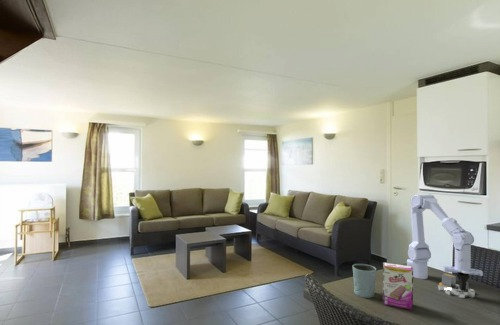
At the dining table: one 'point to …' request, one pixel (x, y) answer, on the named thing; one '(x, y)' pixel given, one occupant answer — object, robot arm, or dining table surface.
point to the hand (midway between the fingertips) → (462, 289)
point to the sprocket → (457, 290)
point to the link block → (448, 280)
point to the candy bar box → (398, 285)
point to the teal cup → (364, 280)
